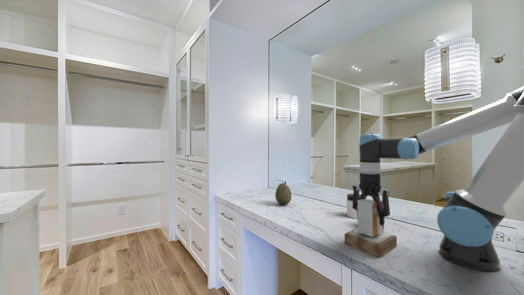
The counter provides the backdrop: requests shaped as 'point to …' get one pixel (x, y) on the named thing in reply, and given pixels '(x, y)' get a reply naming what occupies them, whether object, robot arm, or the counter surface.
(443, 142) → the robot arm
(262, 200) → the counter surface
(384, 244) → the plinth
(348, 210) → the jar
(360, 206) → the small box
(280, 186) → the decorative egg
